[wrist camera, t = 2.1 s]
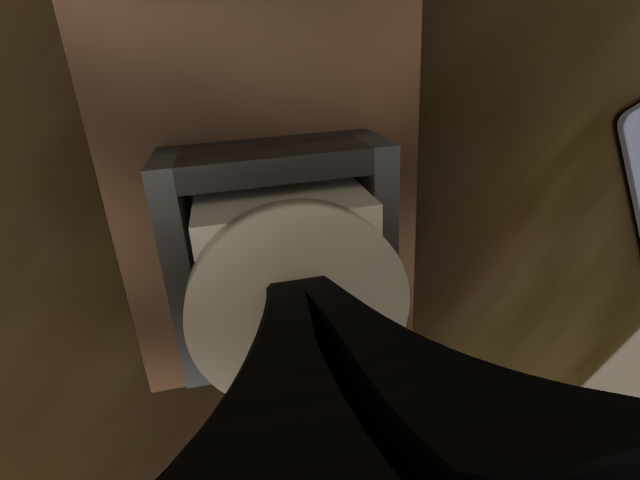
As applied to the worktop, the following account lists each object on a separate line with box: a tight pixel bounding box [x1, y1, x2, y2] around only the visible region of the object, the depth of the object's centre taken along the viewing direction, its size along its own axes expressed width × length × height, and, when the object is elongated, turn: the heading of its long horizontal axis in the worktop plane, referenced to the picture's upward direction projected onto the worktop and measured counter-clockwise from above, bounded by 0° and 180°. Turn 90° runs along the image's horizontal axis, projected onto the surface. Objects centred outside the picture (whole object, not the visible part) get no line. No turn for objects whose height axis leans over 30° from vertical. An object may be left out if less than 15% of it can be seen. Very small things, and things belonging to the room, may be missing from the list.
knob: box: [183, 177, 410, 394], centre depth 12 cm, size 5×5×4 cm
